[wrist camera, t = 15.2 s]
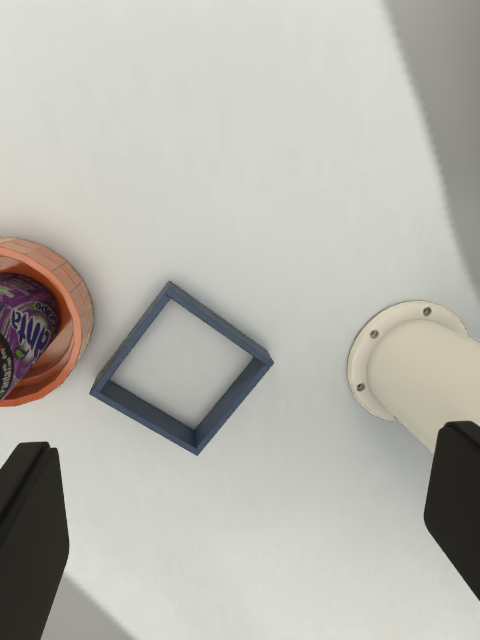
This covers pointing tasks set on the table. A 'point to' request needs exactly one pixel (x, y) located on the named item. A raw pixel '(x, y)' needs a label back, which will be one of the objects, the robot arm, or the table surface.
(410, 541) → the table surface
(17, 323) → the beverage can
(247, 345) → the blue square frame
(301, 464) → the table surface
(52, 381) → the bowl
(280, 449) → the table surface
